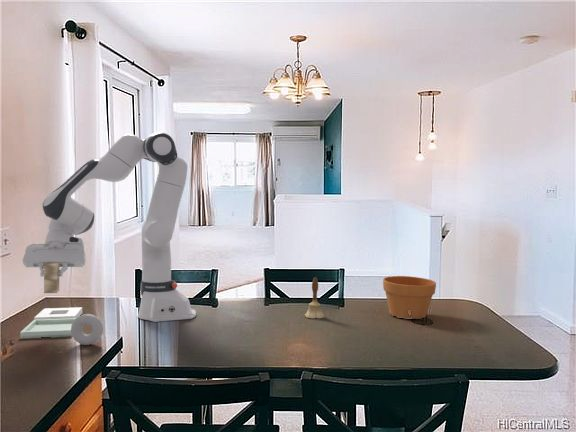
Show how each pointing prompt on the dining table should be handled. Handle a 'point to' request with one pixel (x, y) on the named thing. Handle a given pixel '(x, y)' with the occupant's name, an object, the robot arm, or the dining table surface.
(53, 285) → the maple block
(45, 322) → the tray
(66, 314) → the pocket plate
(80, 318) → the donut
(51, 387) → the dining table surface
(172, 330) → the dining table surface
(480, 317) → the dining table surface
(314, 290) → the hand bell
